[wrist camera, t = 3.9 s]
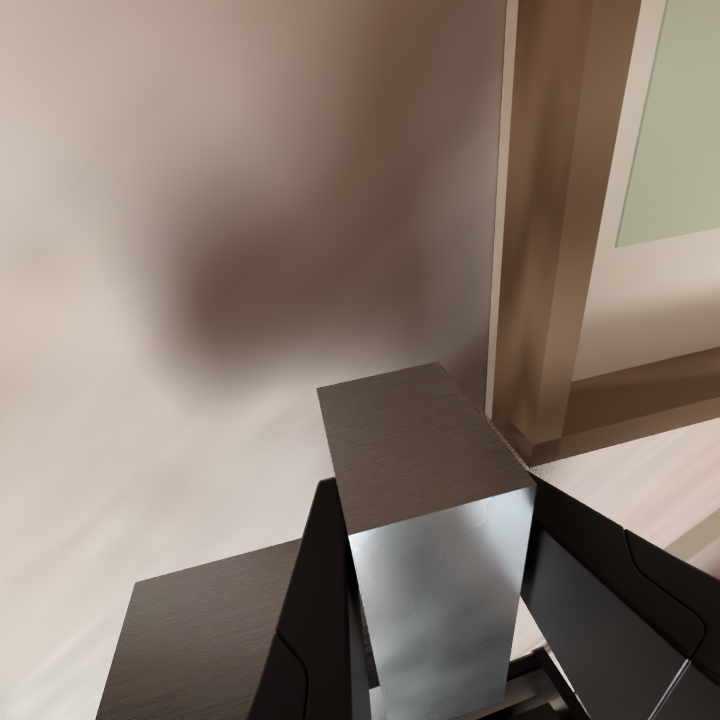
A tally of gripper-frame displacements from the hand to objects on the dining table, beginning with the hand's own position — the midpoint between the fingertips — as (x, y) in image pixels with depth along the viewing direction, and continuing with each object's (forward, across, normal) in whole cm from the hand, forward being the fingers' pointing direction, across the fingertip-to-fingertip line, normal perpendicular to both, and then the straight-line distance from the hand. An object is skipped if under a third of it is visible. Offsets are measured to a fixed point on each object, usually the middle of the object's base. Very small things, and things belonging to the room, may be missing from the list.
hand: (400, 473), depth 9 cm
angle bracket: (+1, +3, +2) cm, 4 cm away
